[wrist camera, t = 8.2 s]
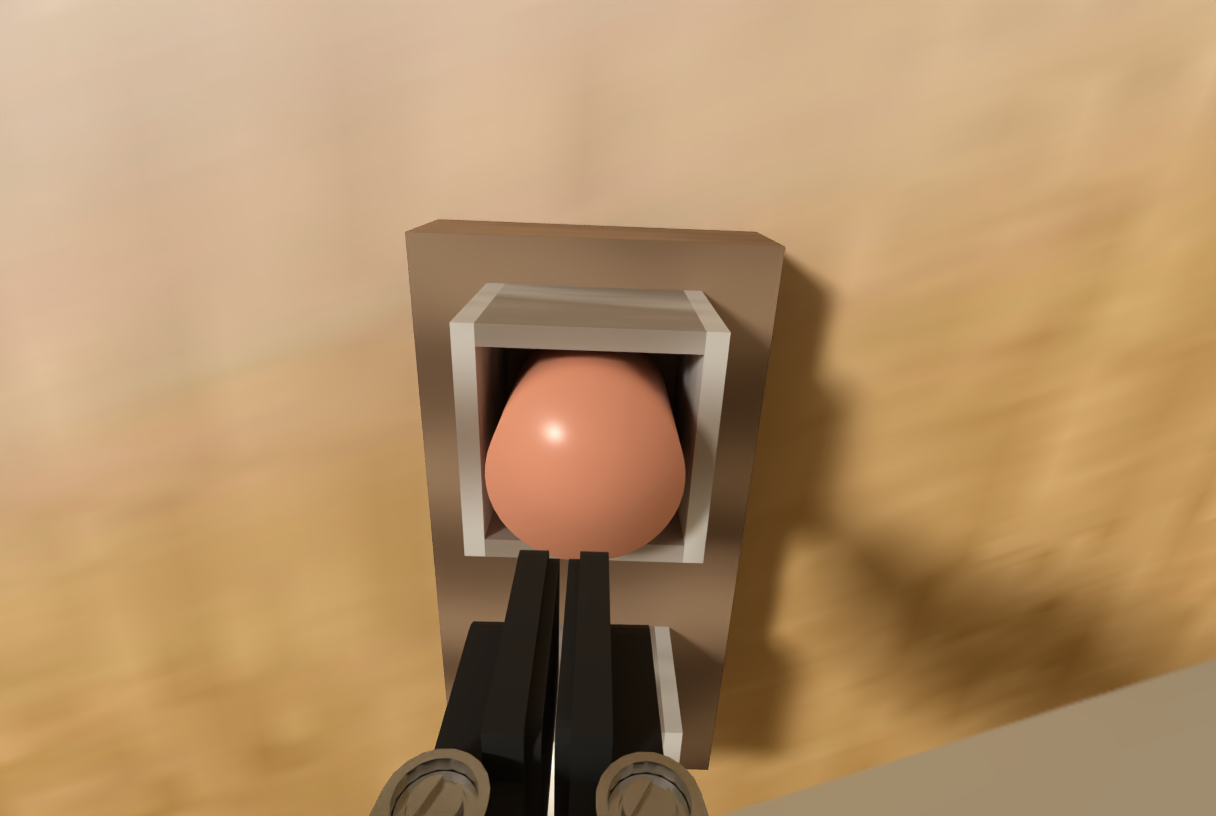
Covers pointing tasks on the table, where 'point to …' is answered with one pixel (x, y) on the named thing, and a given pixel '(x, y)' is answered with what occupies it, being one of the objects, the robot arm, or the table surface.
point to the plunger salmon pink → (586, 453)
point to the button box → (599, 321)
